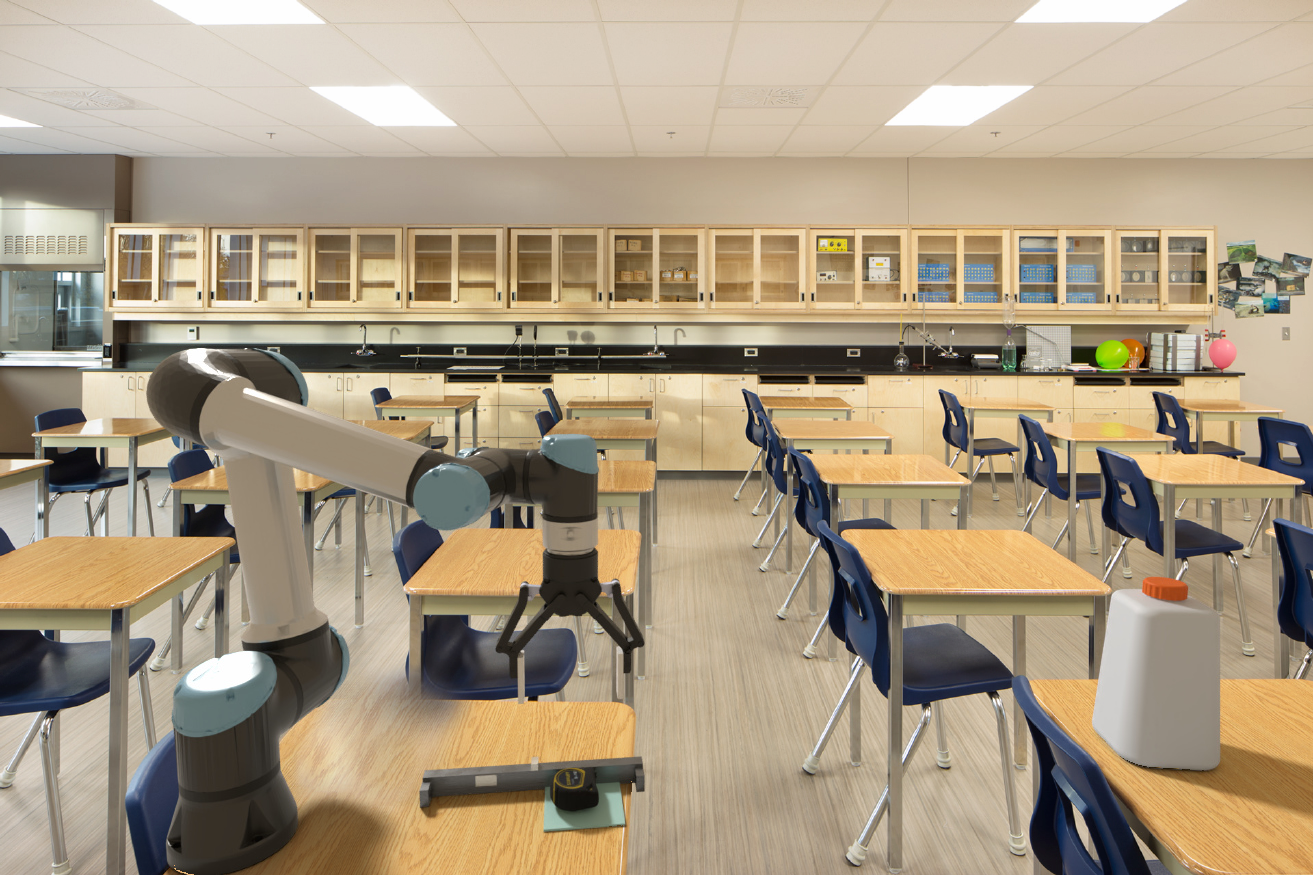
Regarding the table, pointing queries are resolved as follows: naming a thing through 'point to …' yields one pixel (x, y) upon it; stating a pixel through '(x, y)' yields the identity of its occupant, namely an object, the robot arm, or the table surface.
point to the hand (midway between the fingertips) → (571, 697)
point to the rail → (524, 777)
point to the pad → (587, 811)
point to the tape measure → (574, 789)
